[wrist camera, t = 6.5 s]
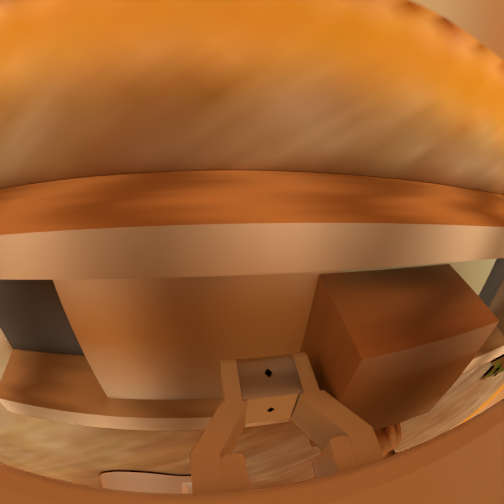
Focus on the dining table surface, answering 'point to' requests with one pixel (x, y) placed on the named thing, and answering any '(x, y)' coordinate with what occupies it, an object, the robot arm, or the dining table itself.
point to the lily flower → (496, 367)
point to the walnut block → (393, 338)
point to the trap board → (202, 279)
